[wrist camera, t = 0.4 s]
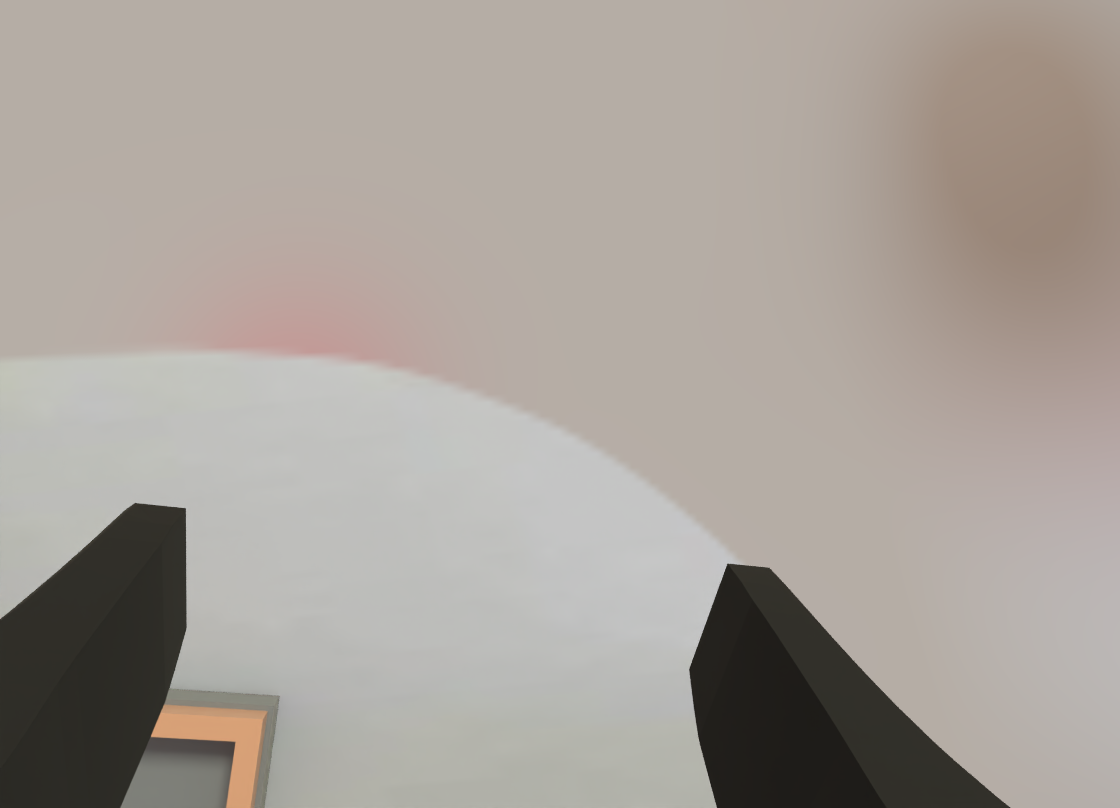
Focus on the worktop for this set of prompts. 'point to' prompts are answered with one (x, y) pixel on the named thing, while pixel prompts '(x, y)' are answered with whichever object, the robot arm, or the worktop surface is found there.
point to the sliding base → (207, 752)
